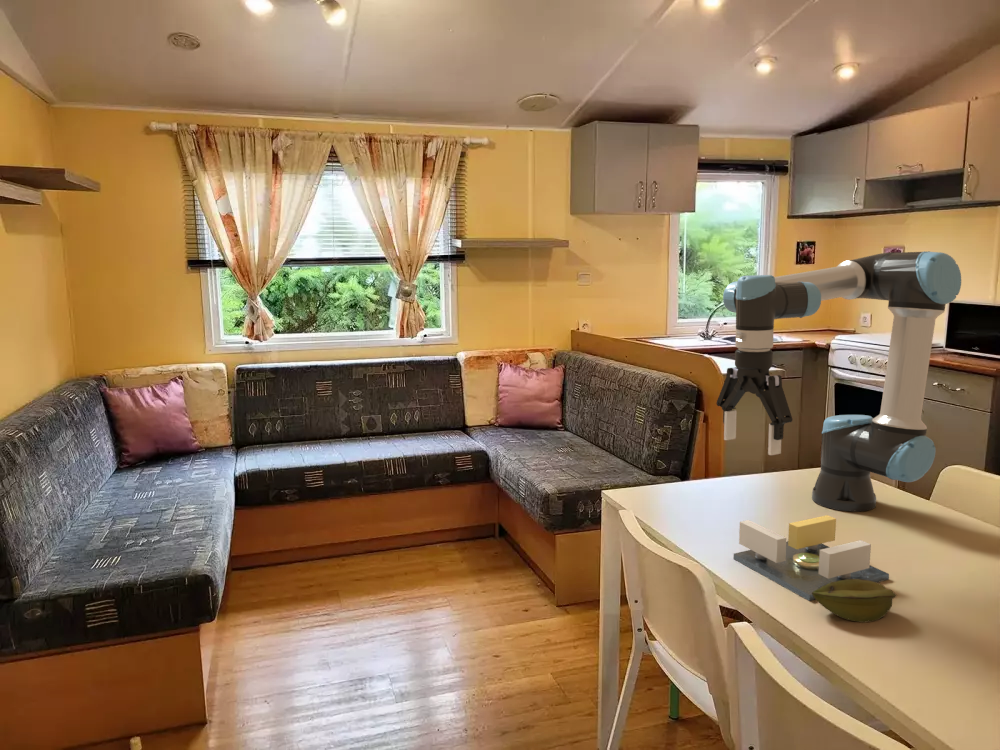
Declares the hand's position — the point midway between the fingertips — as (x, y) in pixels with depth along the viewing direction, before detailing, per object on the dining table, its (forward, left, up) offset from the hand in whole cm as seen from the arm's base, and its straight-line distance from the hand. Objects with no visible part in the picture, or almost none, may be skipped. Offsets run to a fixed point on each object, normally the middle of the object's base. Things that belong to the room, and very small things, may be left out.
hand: (751, 446), depth 153 cm
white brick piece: (-6, +20, -23) cm, 31 cm away
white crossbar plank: (+2, +6, -23) cm, 23 cm away
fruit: (+2, +30, -24) cm, 38 cm away
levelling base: (-5, +12, -24) cm, 27 cm away
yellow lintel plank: (-11, +7, -23) cm, 26 cm away
